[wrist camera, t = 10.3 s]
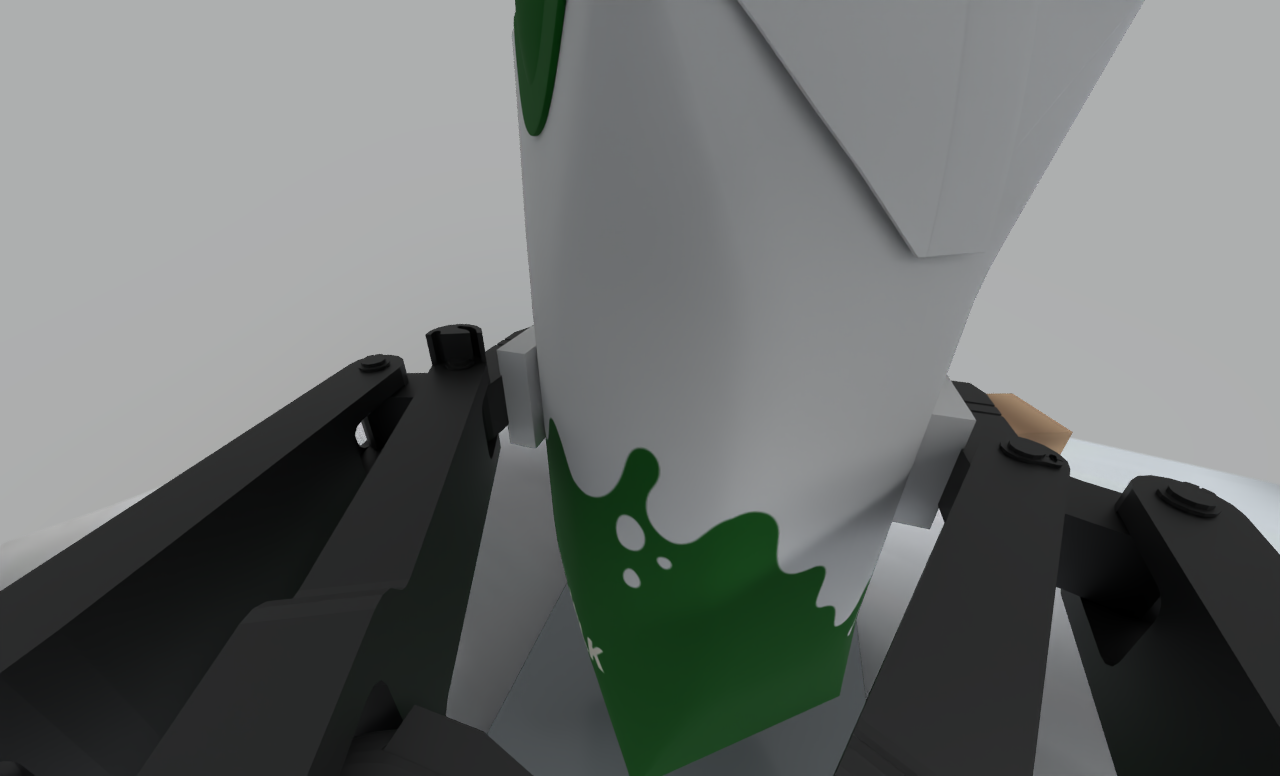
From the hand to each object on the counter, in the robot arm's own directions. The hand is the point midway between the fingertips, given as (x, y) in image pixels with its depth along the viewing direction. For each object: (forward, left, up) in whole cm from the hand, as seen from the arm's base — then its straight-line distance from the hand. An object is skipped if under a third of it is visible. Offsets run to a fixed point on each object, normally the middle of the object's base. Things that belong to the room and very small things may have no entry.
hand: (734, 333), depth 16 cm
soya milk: (0, +5, -10) cm, 11 cm away
